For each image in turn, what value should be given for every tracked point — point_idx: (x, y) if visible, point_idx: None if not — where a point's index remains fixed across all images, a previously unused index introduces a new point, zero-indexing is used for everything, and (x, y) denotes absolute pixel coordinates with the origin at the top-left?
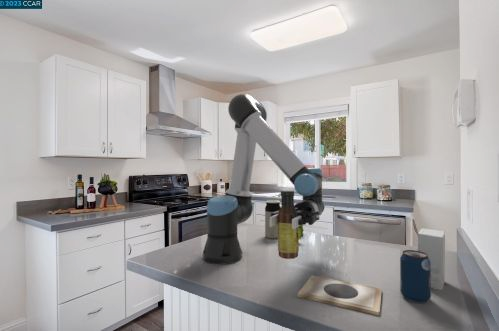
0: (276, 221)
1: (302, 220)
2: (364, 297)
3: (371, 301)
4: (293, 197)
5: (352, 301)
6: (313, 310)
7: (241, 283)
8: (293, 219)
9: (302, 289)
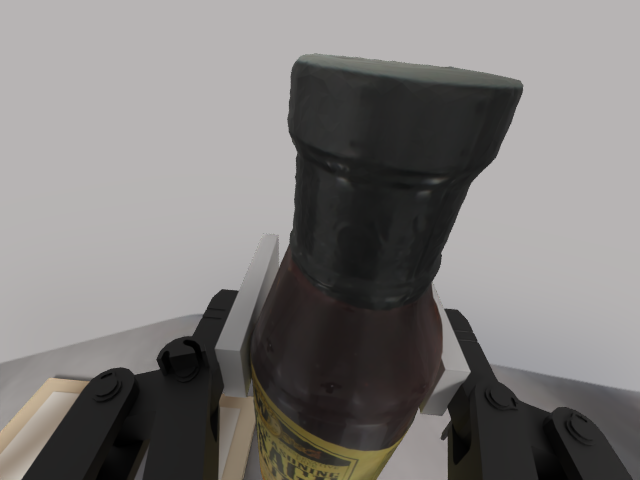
0: None
1: (213, 299)
2: (30, 456)
3: (24, 433)
4: (296, 162)
5: None
6: None
7: (445, 420)
8: (269, 235)
9: (247, 434)
